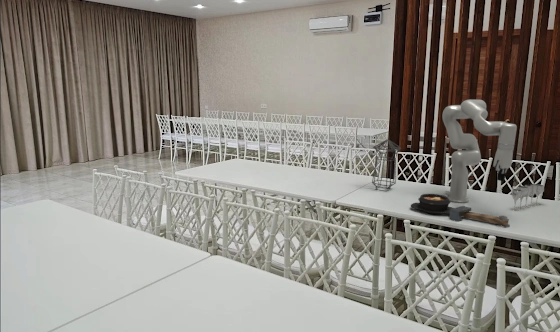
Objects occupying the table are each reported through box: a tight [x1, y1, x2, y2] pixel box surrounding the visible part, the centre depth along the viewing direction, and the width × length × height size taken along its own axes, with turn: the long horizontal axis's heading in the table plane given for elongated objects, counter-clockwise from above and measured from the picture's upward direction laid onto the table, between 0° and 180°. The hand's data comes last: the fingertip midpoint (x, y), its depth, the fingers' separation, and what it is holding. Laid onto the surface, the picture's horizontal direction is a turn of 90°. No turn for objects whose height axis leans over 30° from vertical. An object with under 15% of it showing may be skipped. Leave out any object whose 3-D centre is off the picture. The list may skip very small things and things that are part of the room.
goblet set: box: [509, 183, 545, 212], centre depth 235 cm, size 28×6×13 cm, turn 119°
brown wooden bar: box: [461, 211, 510, 226], centre depth 209 cm, size 22×5×4 cm, turn 50°
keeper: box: [449, 205, 472, 222], centre depth 214 cm, size 5×12×6 cm, turn 123°
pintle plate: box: [494, 223, 511, 228], centre depth 204 cm, size 7×7×1 cm
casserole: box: [410, 193, 454, 215], centre depth 226 cm, size 25×19×8 cm
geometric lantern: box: [371, 139, 402, 192], centre depth 271 cm, size 16×16×35 cm
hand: (500, 180), depth 214 cm, fingers closed
